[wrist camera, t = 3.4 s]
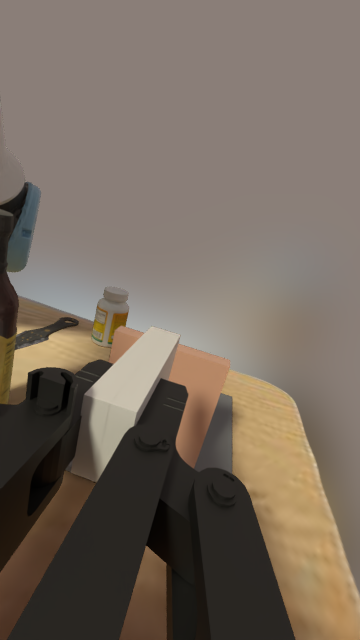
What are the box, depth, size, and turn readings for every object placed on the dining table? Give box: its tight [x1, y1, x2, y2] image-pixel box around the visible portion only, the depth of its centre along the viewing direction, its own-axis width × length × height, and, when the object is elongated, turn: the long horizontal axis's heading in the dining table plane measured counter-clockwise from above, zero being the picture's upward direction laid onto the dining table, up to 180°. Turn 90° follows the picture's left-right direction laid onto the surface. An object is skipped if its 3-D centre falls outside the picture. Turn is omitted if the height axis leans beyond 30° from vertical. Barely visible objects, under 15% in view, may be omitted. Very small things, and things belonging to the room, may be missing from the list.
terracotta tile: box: [109, 326, 230, 469], centre depth 25 cm, size 2×10×12 cm, turn 79°
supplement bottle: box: [92, 287, 129, 347], centre depth 48 cm, size 5×5×10 cm
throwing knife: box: [15, 317, 79, 350], centre depth 45 cm, size 4×20×1 cm, turn 165°
